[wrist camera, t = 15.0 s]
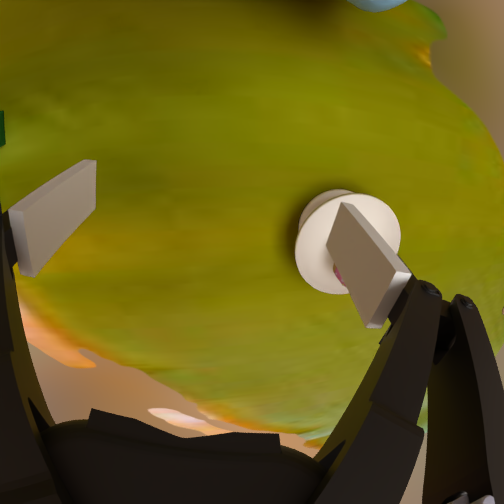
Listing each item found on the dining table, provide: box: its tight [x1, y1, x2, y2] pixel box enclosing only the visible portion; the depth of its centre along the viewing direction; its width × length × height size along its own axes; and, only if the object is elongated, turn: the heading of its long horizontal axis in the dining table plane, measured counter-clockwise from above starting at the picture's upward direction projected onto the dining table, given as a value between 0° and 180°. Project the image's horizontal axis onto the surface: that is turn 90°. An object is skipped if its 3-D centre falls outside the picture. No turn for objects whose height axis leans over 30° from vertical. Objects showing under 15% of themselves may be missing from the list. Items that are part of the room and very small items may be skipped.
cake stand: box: [295, 189, 400, 294], centre depth 49 cm, size 18×18×8 cm
